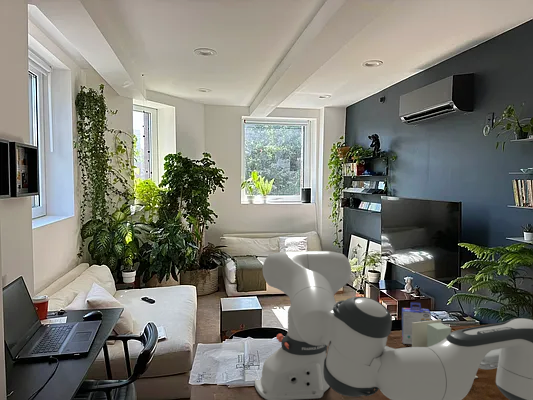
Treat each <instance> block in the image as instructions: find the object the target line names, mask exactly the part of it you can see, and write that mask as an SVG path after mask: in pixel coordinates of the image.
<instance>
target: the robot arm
mask: <svg viewBox="0 0 533 400" xmlns="http://www.w3.org/2000/svg"><path fill="white" fill-rule="evenodd" d="M262 275H263V278H264V280H265V282H266V284H267V285H268V286H270V287H271V288H275V289H276V290H279V291H281V292H283V293H284V294H285V295H286V296H287V297H288V298H289V301H290V306H289V307H288V310H287V333H286V335H285V336H284V335H283V334H282V333H278V334H277V335H276V339H277V341H278V342H279V343H281V346H280V347H279V348H278V349H277V350H276V351H274V352H273V353H272V354H271V355H270V356H268V357H267V358H265V360H264V362H263V365H262V371H261V373H262V377H261V379H260V380H256V379H255V378H254V381H255V383H254V387H255V390H256V391H257V393H258V394H259V395H260V396H261V398H262V399H263V398H264V399H265V400H309V399H310V400H311V399H321V398H323V397H324V393H325V392H326V391H327V390H328V389H329V388H331V390H333V391H335V393H337V394H339V395H341V396H345V397H353V398H356V397H357V398H358V397H359V398H360V397H362V396H364V397H370V396H372V395H374V394H376V393H377V392H378V391H379V390H380V392H381V393H382V394H383V395H384V396H385V397H386V398H388V399H389V400H464V398H466V396H467V395H468V394H469V392H470V391H471V389H472V386H473V384H474V381H475V379H476V378H475V376H477V373H478V370H479V369H481V370H493V369H496V373H495V374H496V375H495V385H496V387H497V389H498V390H499V391H500V393H501V394H502V395H503V396H504V397H505V398H507V399H508V400H533V319H530V318H524V317H523V318H521V317H520V318H519V317H517V318H515V317H514V318H511V319H509V320H505V321H503V322H498V323H492V324H485V325H481V326H480V325H479V326H472V327H468V328H463V329H462V328H461V329H458V330H454V331H451V333H450V334H449V335H448V336H447V337H446V338H445V339H444V340H442V341H441V342H439V343H437V344H435V345H433V346H429V347H412V346H409V347H400V348H394V347H391V346H390V347H389V346H388V345H387V342H388V336H389V335H391V331H392V324H393V323H392V322H393V321H392V319H393V317H392V314H391V312H390V311H389V310H388V309H387V308H388V307H386V306H385V305H383V303H381V302H379V301H377V300H375V299H373V298H371V297H367V296H355V297H350V298H347V299H345V300H339V301H337V302H336V298H335V294H337V293H338V292H339V290H341V289H342V288H344V287H345V286H346V285H347V284H348V283H349V281H350V279H351V275H352V266H351V263H350V260H349V258H348V257H347V256H346V255H345V254H343V253H340V252H337V251H336V252H335V251H332V250H331V251H330V250H300V251H299V250H284V251H279V252H278V251H277V252H275V253H270V254H268V256H266V258H265V260H264V261H263V265H262ZM474 378H475V379H474Z"/></svg>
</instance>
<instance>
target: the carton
mask: <svg viewBox="0 0 533 400" xmlns="http://www.w3.org/2000/svg"><path fill="white" fill-rule="evenodd" d="M432 323H442V319H431V321H422V322H414V323H412V344H411V347H427V324H432ZM478 378H479V377H478V376H477V375H476V376H475V378H474V380H475V379H478Z"/></svg>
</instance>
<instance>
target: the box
mask: <svg viewBox="0 0 533 400" xmlns="http://www.w3.org/2000/svg"><path fill="white" fill-rule="evenodd" d="M451 332H452V327H450V326H449V325H446V324H444V323H442V322H441V323H432V324H427V347H429V346H433V345H435V344H437V343H439V342H441V341H442V340H444V339H445V338H446V337H447V336H448V335H449V334H450V333H451Z"/></svg>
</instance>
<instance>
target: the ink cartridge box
mask: <svg viewBox="0 0 533 400" xmlns="http://www.w3.org/2000/svg"><path fill="white" fill-rule="evenodd" d="M414 305H416V306H414ZM431 320H432V313H431V310H430V309H428V308H422V305H421V302H413V301H412V302H410V307H401V330H402V331H401V342H402V344H403V345H405V344H406V345H412V323H414V322H422V321H431Z"/></svg>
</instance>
